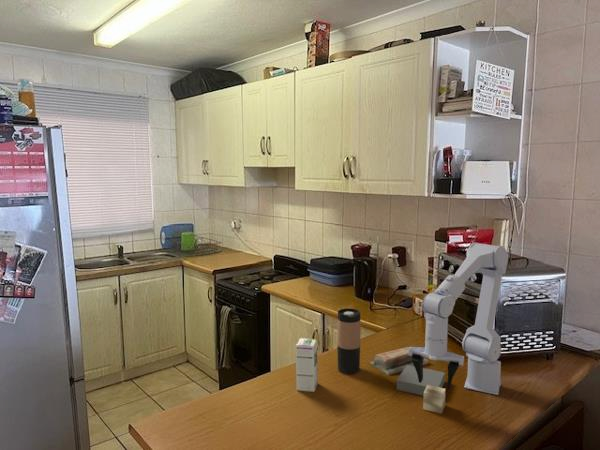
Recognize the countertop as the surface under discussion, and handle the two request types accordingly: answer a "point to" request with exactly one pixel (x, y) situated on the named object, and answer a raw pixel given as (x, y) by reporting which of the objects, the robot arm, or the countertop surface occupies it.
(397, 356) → the packaged product
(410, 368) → the gray plinth
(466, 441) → the countertop surface
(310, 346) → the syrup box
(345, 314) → the travel mug
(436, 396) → the birch block
